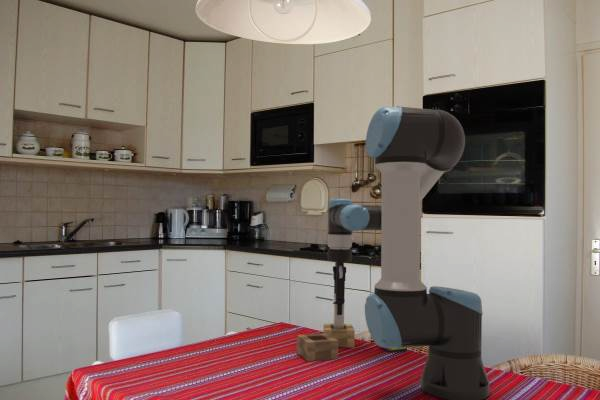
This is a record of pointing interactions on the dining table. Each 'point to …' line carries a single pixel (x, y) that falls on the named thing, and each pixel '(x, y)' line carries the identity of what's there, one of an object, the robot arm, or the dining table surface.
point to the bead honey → (341, 334)
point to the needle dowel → (334, 317)
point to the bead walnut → (317, 347)
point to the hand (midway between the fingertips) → (338, 323)
